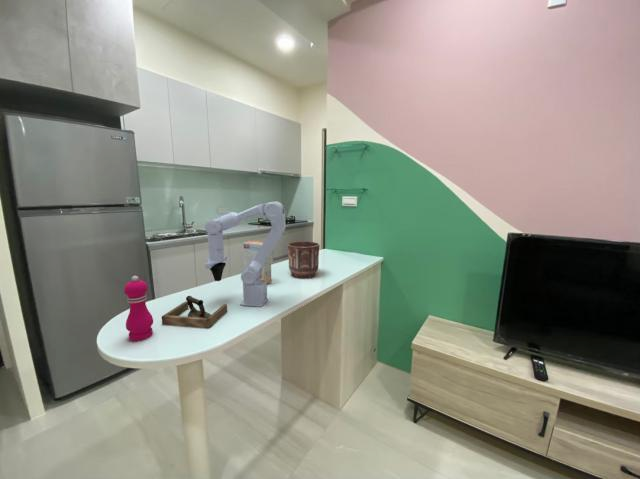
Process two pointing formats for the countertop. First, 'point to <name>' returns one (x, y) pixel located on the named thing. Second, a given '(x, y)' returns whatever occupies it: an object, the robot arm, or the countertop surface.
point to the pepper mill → (138, 310)
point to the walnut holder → (177, 320)
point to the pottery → (303, 258)
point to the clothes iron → (194, 311)
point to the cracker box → (250, 253)
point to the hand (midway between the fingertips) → (217, 280)
